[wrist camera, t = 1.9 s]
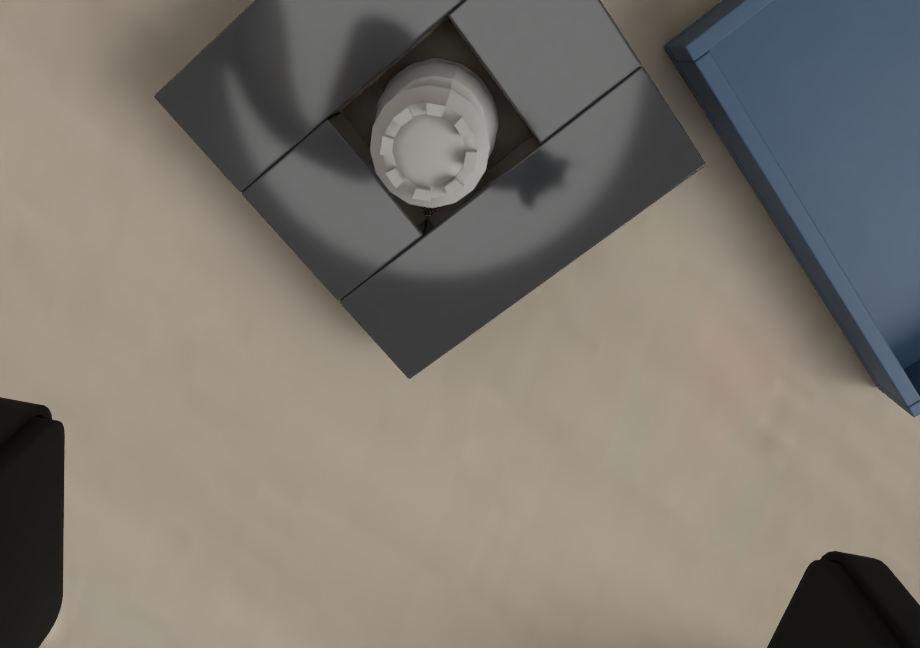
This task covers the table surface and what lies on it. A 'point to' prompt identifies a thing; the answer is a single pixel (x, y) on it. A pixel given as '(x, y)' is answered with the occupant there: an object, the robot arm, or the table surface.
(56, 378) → the table surface
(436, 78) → the rook chess piece
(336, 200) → the square hole block
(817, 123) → the basin tray
